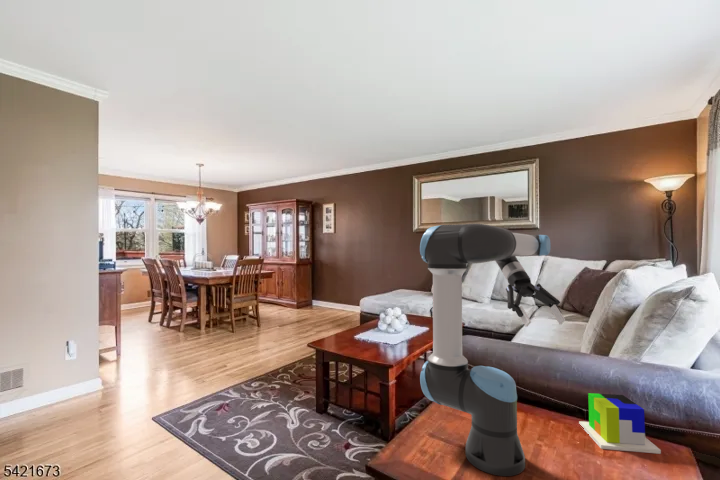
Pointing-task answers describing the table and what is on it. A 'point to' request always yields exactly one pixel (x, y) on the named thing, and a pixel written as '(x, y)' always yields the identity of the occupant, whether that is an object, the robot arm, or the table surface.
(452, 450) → the table surface
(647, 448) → the letter board
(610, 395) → the puzzle toy
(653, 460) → the table surface
